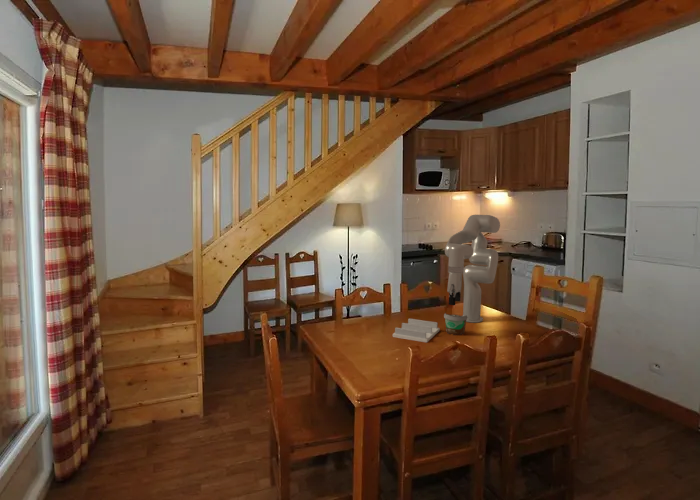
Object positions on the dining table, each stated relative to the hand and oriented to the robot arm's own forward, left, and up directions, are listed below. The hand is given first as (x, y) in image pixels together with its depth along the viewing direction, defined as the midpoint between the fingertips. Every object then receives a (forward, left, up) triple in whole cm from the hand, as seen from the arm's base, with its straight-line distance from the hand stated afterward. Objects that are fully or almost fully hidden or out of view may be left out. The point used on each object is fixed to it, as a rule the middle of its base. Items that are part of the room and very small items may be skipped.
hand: (454, 302), depth 229 cm
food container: (-1, 0, -17) cm, 17 cm away
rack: (+8, -17, -17) cm, 25 cm away
